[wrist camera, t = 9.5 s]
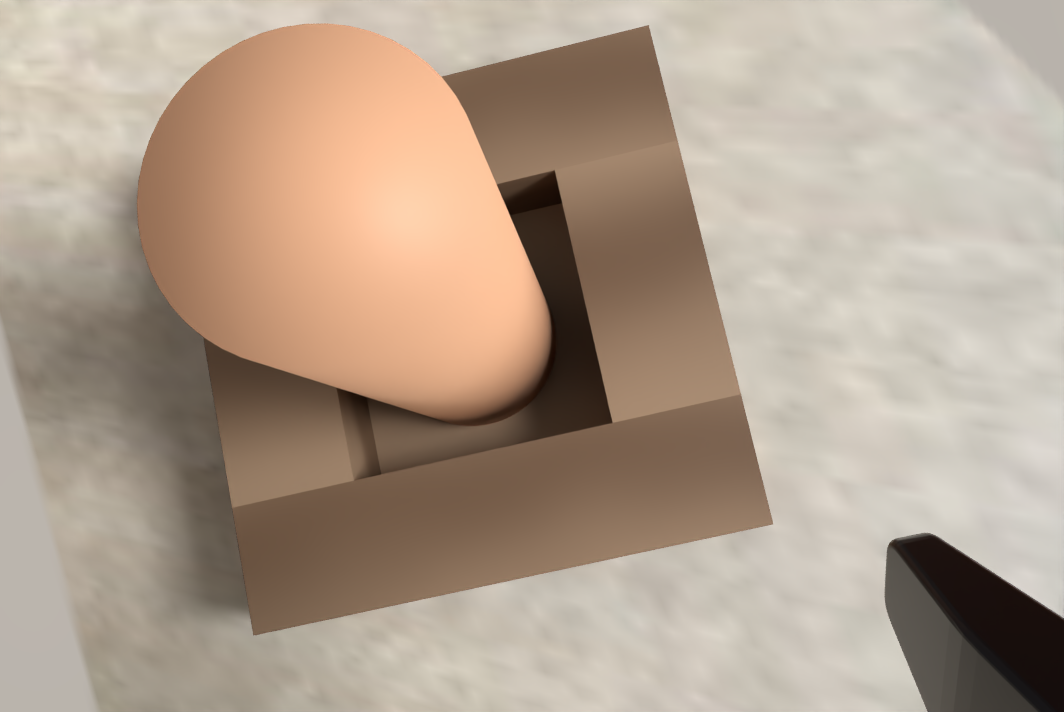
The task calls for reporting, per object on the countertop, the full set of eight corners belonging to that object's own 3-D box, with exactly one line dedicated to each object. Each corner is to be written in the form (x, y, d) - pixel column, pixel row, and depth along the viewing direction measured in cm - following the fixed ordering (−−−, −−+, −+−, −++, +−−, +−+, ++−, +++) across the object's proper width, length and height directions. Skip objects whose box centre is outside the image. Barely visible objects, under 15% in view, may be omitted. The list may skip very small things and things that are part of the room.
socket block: (754, 519, 23) (773, 524, 20) (300, 616, 23) (253, 635, 21) (645, 81, 24) (648, 25, 21) (224, 184, 25) (170, 144, 22)
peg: (588, 366, 23) (551, 239, 11) (445, 458, 23) (245, 436, 11) (498, 228, 24) (365, -41, 11) (360, 318, 24) (76, 145, 11)
